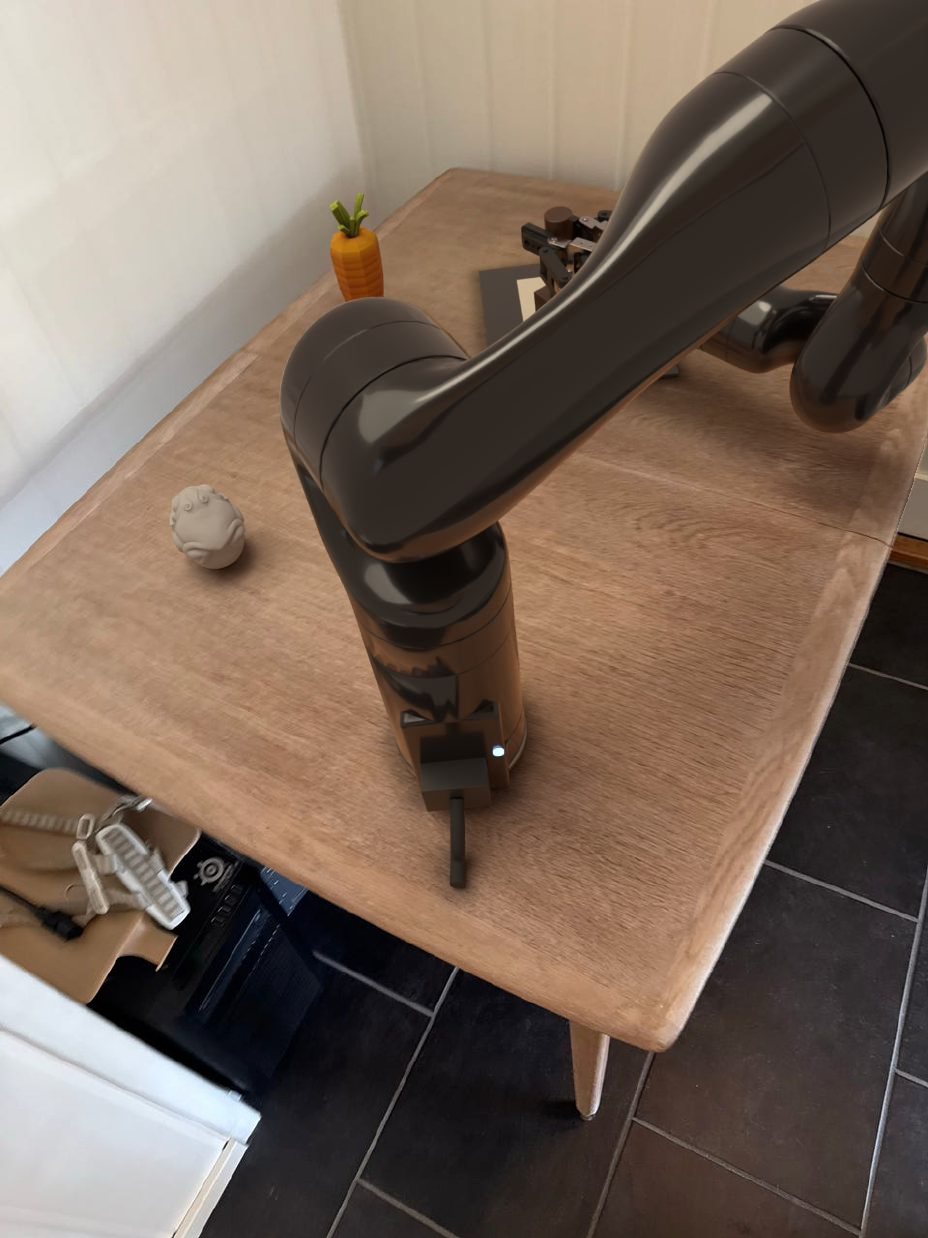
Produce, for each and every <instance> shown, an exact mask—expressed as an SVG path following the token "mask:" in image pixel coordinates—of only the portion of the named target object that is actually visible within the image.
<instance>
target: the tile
mask: <svg viewBox="0 0 928 1238" xmlns="http://www.w3.org/2000/svg"><path fill="white" fill-rule="evenodd" d="M478 279H479V287H480V296H481V305H482V314H483V322H484V323H483V324H484V330H485V340H486V348H487V347H489V346H491V345H492V344H494V343H495V342H496V341H498V340H499V339H501V338H502V337H503V336H505V335H506V334H508V333H509V332H510V331H512V330H513V329H515V328H516V327H517V326H518V325H520V324H521V323H522V322H523V321H525V320H526V319H527V318H529V317H530V316H531V315H532V314H534V313H535V302H534V292H535V291H536V290H538V289H540V288H542V287H544V286H546V285H545V283H544V282H543V280H542V279H541V277H540V262H539V263H531V264H523V265H515V266H506V267H497V268H491V269H482V270H478ZM679 375H680V372H679V369H678V366H677V364H676V365H674V366H673V367H672V368H671V369H669V370H668V371H667V372H666V373H665V374H663V375H662V376H661V377H660V378H658V379H657V380H661V379H667V378H677V377H679Z"/></svg>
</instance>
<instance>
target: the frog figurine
mask: <svg viewBox="0 0 928 1238" xmlns="http://www.w3.org/2000/svg"><path fill="white" fill-rule="evenodd" d="M171 507H172V508H171V511H170V514H169V526H170V527H171V530H172V532H171V539H172V542H173V544H174V546H175V547H176V548H177V550H178V551H179V552H180V553H182V554H184V555H185V556H186V557H187V558H188V559H191V560H192V562H194V563H195V564H197V565H198V566H201V567H203V568H205V569H211V570H212V569H213V570H216V569H217V570H218V569H223V568H226V567H228V566H230V565H231V564H233V563H234V562H235V561H237V559H239V557H240V555H242V552H243V550H244V546H245V536H246V535H245V533H246V527H245V518H244V515H243V513H242V511H241V509H239V507H238V506H237V505H235V504H233V503H231V501H230V499H229V497H228V496H226V495H225V494H223V493H222V492H219V491H217V490H215V489H214V488H213V487H212V486H211V485H209V484H207V483H203V484H200V485H192V486H188V487H185V488H184V489H182V490H181V491H179V493H178V494H177V495H176V496H174V497H173V498H172V499H171Z"/></svg>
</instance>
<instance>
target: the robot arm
mask: <svg viewBox="0 0 928 1238" xmlns="http://www.w3.org/2000/svg"><path fill="white" fill-rule="evenodd" d="M879 213H880V214H879ZM878 214H879V216H878V218H877V219H876V222H875V224H874V226H873V228H872V230H871V232H870V234H869V236H868V238H867V240H866V242H865V245H864V247H863V248H862V250H861V253H860V255H859V257H858V259H857V261H856V265H855V267H854V268H853V271H852V273H851V274H850V277H849V278H848V279H847V281H846V282H845V285H843V287H842V289H840V292H834V291H833V292H832V291H825V290H820V289H819V290H818V289H805V288H795V287H791V286H788V285H786V284H784V283H785V282H786V281H788V280H789V279H791V278H792V277H793V276H795V275H796V274H798V273H800V272H801V271H802V270H804V269H805V268H807V267H808V266H810V265H811V264H812V263H814V262H815V261H817V260H818V259H819V258H820V257H822V256H823V255H824V254H826V253H827V252H828V251H830V250H831V249H833V248H834V247H835V246H836V245H838V244H839V243H840V242H842V241H843V240H844V239H846V238H847V237H849V236H850V235H851V234H853V233H854V232H856V231H857V230H858V229H859V228H860V227H861V226H863V225H864V224H866V223H867V222H868V221H869V220H871V219H872V218H874V217H875V216H876V215H878ZM573 233H574V240H572V241H571V240H568V239H565V238H562V237H559V236H555V234H554V233H551V232H548V231H547V230H545V228H544V227H543V228H542V227H541V226H538V225H536V224H534V223H531V222H526V223H524V224H523V225H521V227H520V235H521V236H520V238H521V245H522V248H523V250H525V251H527V252H529V253H531V254H533V255H535V256H537V257H539V263H540V277H541V279H542V280H543V282H544V283H545V285H546V286H547V288H548V289H549V290H550V292H551V293H552V295H553V296H554V297H553V298H551V299H550V300H549V301H548V302H547V303H546V304H544V305H543V306H542V307H541V308H540V309H538V310H537V311H536V312H535V313H534V314H532V315H531V316H530V317H529V318H527V319H526V320H525V321H523V322H522V323H521V324H520V325H518V326H517V327H516V328H515V329H513V330H512V331H510V332H509V333H508V334H506V335H505V336H503V337H502V338H501V339H499V340H498V341H496V342H495V343H494V344H492V345H491V346H489V347H487V346H486V348H485V349H482V350H481V351H480V352H478V353H477V354H475V355H474V356H472V355H471V354H470V353H469V352H468V351H467V350H466V348H464V347H463V346H462V344H460V343H459V342H458V341H457V340H456V339H455V337H453V335H452V334H451V333H450V332H449V331H448V330H447V329H446V328H445V327H444V326H443V325H442V324H441V323H440V322H439V321H438V320H437V319H436V318H435V317H433V316H432V315H431V314H429V313H428V312H427V311H425V310H424V309H422V308H420V307H419V306H416V305H414V304H412V303H411V302H407V301H405V300H401V299H397V298H394V297H387V296H384V297H365V298H359V299H354V300H351V301H348V302H346V301H344V302H342V303H340V304H338V305H336V306H334V307H333V308H331V309H329V310H327V311H326V312H323V314H322V315H320V316H319V317H318V318H317V319H315V320H314V321H313V322H312V323H310V324H309V326H308V327H307V328H306V329H305V330H304V332H302V334H301V336H300V337H299V338H298V339H297V341H296V342H295V344H294V345H293V348H292V349H291V351H290V353H289V355H288V357H287V360H286V361H285V366H284V368H283V371H282V374H281V379H280V385H279V393H278V394H279V395H278V411H279V420H280V424H281V428H282V433H283V437H284V440H285V443H286V447H287V449H288V452H289V455H290V458H291V461H292V463H293V467H294V469H295V472H296V474H297V477H298V480H299V483H300V485H301V488H302V490H303V494H304V495H305V498H306V499H305V500H306V501H307V503H308V506H309V509H310V512H311V514H312V517H313V520H314V523H315V525H316V529H317V531H318V534H319V537H320V539H321V542H322V545H323V546H324V548H325V550H326V553H327V555H328V558H329V559H330V561H331V563H332V565H333V568H334V569H335V571H336V573H337V576H338V578H339V579H340V581H341V584H342V586H343V588H344V590H345V592H346V595H347V597H348V600H349V603H350V605H351V609H352V612H353V614H354V617H355V620H356V623H357V626H358V629H359V632H360V637H361V639H362V642H363V645H364V648H365V651H366V654H367V657H368V660H369V664H370V666H371V670H372V672H373V675H374V678H375V681H376V684H377V687H378V690H379V694H380V696H381V699H382V702H383V705H384V708H385V712H386V714H387V717H388V720H389V723H390V726H391V729H392V731H393V734H394V738H395V744H396V747H397V752H398V754H399V757H400V758H401V761H402V763H403V765H404V766H405V768H406V770H407V771H408V772H409V773H410V774H411V775H412V776H413V777H414V778H415V779H416V782H417V785H418V788H419V791H420V794H421V796H422V799H423V802H424V805H425V809H426V811H427V812H428V813H429V812H430V813H431V812H440V811H441V812H442V811H449V837H450V838H449V842H450V843H449V844H450V845H449V848H450V850H449V851H450V852H449V853H450V859H449V860H450V861H449V862H450V863H449V886H450V888H451V887H452V888H456V889H460V888H464V887H465V885H466V883H465V881H466V876H465V875H466V818H465V817H466V813H465V810H466V809H472V808H482V807H483V808H484V807H491V806H492V796H491V795H492V793H491V789H498V788H507V787H509V786H510V783H511V781H510V771H511V770H512V769H513V768H514V767H515V766H516V765H517V763H518V761H520V758H521V756H522V755H523V752H524V750H525V747H526V742H527V736H528V726H527V718H526V713H525V710H524V708H525V707H524V698H523V689H522V679H521V668H520V657H519V647H518V637H517V628H516V616H515V605H514V604H515V602H514V593H513V582H512V573H511V561H510V555H509V554H510V552H509V551H510V550H509V546H508V542H507V538H506V534H505V532H504V529H503V527H502V525H501V523H500V521H499V520H501V519H502V518H503V517H504V516H505V515H507V514H508V513H509V512H511V510H513V509H514V508H515V507H516V506H517V505H518V504H520V503H521V502H522V501H523V500H524V499H525V498H527V496H529V495H530V494H531V493H532V492H534V490H535V489H536V488H538V487H539V486H540V485H541V484H542V483H543V482H545V480H546V479H548V478H549V477H550V476H551V475H552V474H553V473H554V472H556V471H557V469H558V468H560V467H561V466H562V465H563V464H564V463H565V462H567V460H569V459H570V458H571V457H572V456H573V455H574V454H575V453H576V452H577V451H578V450H580V449H581V447H583V446H584V445H585V444H586V443H587V442H589V440H590V439H592V438H593V437H594V436H595V435H596V434H597V433H598V432H600V430H602V429H603V427H605V426H606V425H607V424H608V423H609V422H611V420H612V419H613V418H615V417H616V416H617V415H618V414H619V413H620V412H621V411H622V410H623V409H625V408H626V407H627V406H628V405H629V404H630V403H631V402H632V401H634V399H636V398H637V397H638V396H639V395H640V394H642V393H643V392H644V391H645V390H646V389H647V388H649V387H650V386H652V384H654V383H655V382H656V381H657V380H659V379H658V378H660V377H661V376H662V375H663V374H665V373H666V372H667V371H668V370H669V369H671V368H672V367H673V366H674V365H676V366H677V364H678V363H680V362H681V361H682V360H684V359H685V358H686V357H687V356H689V355H690V354H692V352H694V351H695V350H698V351H701V352H703V353H706V354H708V355H710V356H712V357H714V358H716V359H718V360H721V361H723V362H725V363H726V364H728V365H731V366H733V367H735V368H738V369H740V370H742V371H744V372H748V373H750V374H755V375H762V374H763V375H764V374H767V373H769V372H772V371H774V370H778V369H779V368H782V367H786V366H789V365H792V369H791V372H790V376H789V385H788V386H789V387H788V392H789V398H790V402H791V405H792V408H793V410H794V412H795V414H796V416H797V417H798V419H800V421H801V422H802V423H804V424H805V425H806V426H807V427H809V428H810V429H812V430H814V431H817V432H819V433H823V434H831V435H837V434H839V435H840V434H845V433H849V432H851V431H855V430H857V429H859V428H861V427H863V426H864V425H866V424H867V423H869V422H870V421H871V420H873V419H874V418H875V417H876V416H877V415H879V413H880V412H881V411H883V410H884V409H885V408H886V407H887V406H889V404H891V403H892V402H893V401H894V400H895V399H896V398H897V397H898V396H899V395H900V394H902V393H903V392H904V391H905V390H906V389H907V388H909V387H910V385H912V383H913V382H915V381H916V380H917V378H918V377H919V375H920V374H921V373H922V371H923V370H924V367H925V365H926V362H927V357H928V344H927V340H926V337H925V336H926V335H927V334H928V0H817V1H814V2H813V3H810V4H809V5H806V6H804V7H802V8H800V9H799V10H797V11H794V12H793V13H791V14H789V15H788V16H787V17H785V18H783V19H782V20H780V21H779V22H777V23H776V24H775V25H773V26H772V27H771V28H769V29H768V30H766V31H765V32H764V33H763V34H762V35H760V36H759V37H757V38H756V39H754V41H752V42H751V43H749V44H748V45H746V47H744V48H743V49H741V50H740V51H738V53H736V54H735V55H734V56H733V57H731V58H729V60H727V61H726V62H725V63H723V64H721V66H719V67H718V68H717V69H715V70H714V71H713V72H711V74H709V75H708V76H706V77H705V78H704V79H702V80H701V81H700V82H699V83H697V85H696V86H694V87H693V88H692V89H691V90H690V91H689V92H687V94H685V95H684V96H683V97H682V98H681V99H680V100H678V101H677V102H676V103H675V104H674V105H673V106H672V107H671V108H670V109H669V110H668V111H667V113H666V114H665V115H664V116H663V117H662V119H661V120H660V121H659V122H658V124H657V125H656V126H655V128H654V130H653V131H652V133H651V134H650V135H649V137H648V139H647V141H646V143H645V144H644V146H643V148H642V149H641V151H640V153H639V155H638V157H637V159H636V161H635V163H634V165H633V166H632V168H631V170H630V172H629V175H628V177H627V179H626V180H625V183H624V186H623V187H622V190H621V192H620V194H619V197H618V198H617V200H616V203H615V205H614V207H613V209H612V210H609V209H601V210H599V211H598V212H597V215H596V216H595V217H591V216H590V215H589V216H588V215H584V216H580V217H579V216H577V215H575V214H573ZM561 251H563V252H565V253H566V254H567V259H565V258H562V254H561ZM660 379H661V378H660Z"/></svg>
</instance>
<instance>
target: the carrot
mask: <svg viewBox="0 0 928 1238" xmlns="http://www.w3.org/2000/svg"><path fill="white" fill-rule="evenodd" d="M364 197H365V194H364V193H362V192H359V193H357V194H356V197H355V201H354V207H353V208H354V209H353V216H350V214H349V212H348V210H347V209H346V208H345V207H344V205H343V204H342V203H341V201H340V200H335V201H334V202H332V203H331V204H330V205H329V208H330V211H331V214H332V215H333V216H334V218H335V220H336V222H337V223H338V225H337V226H336V228H337V230H338V231H337V232H336V233H334V234H333V236H332V237H331V241H330V245H329V255H330V259H331V263H332V267H333V270H334V275H335V277H336V280H337V284H338V287H339V290H340V292H341V295H342V297H343V299H344V302H348V301H351V300H354V299H359V298H365V297H385V296H384V295H385V294H384V291H385V289H384V288H385V287H384V286H385V285H384V284H385V282H384V269H383V263H382V256H381V249H380V243H379V238H378V236H377V234H376V233H375V232H373V231H372V230H370V229H368V228H367V227H364V226H362V222H363V221H364V219H365V218H367V217H369V216H370V213H369V211H368V210H366V209H362V205H363V202H364Z"/></svg>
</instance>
